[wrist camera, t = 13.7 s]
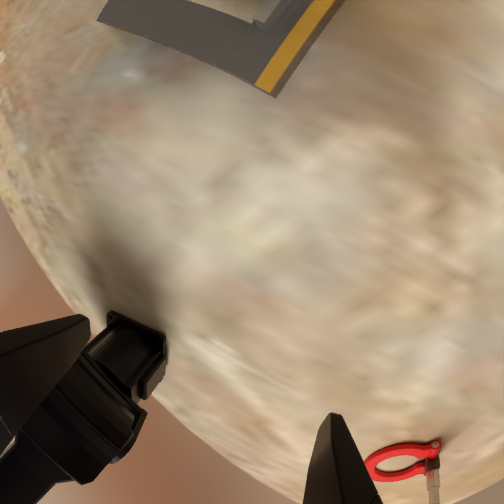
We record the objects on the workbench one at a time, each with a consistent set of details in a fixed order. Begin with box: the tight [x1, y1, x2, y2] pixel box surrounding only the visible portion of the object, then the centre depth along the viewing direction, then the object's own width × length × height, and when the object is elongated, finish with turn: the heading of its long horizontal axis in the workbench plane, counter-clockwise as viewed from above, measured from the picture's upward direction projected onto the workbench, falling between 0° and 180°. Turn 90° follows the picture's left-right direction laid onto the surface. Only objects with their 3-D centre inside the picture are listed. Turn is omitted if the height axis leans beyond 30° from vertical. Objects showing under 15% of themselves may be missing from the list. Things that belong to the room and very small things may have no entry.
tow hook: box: [364, 440, 441, 504], centre depth 20 cm, size 8×13×9 cm
